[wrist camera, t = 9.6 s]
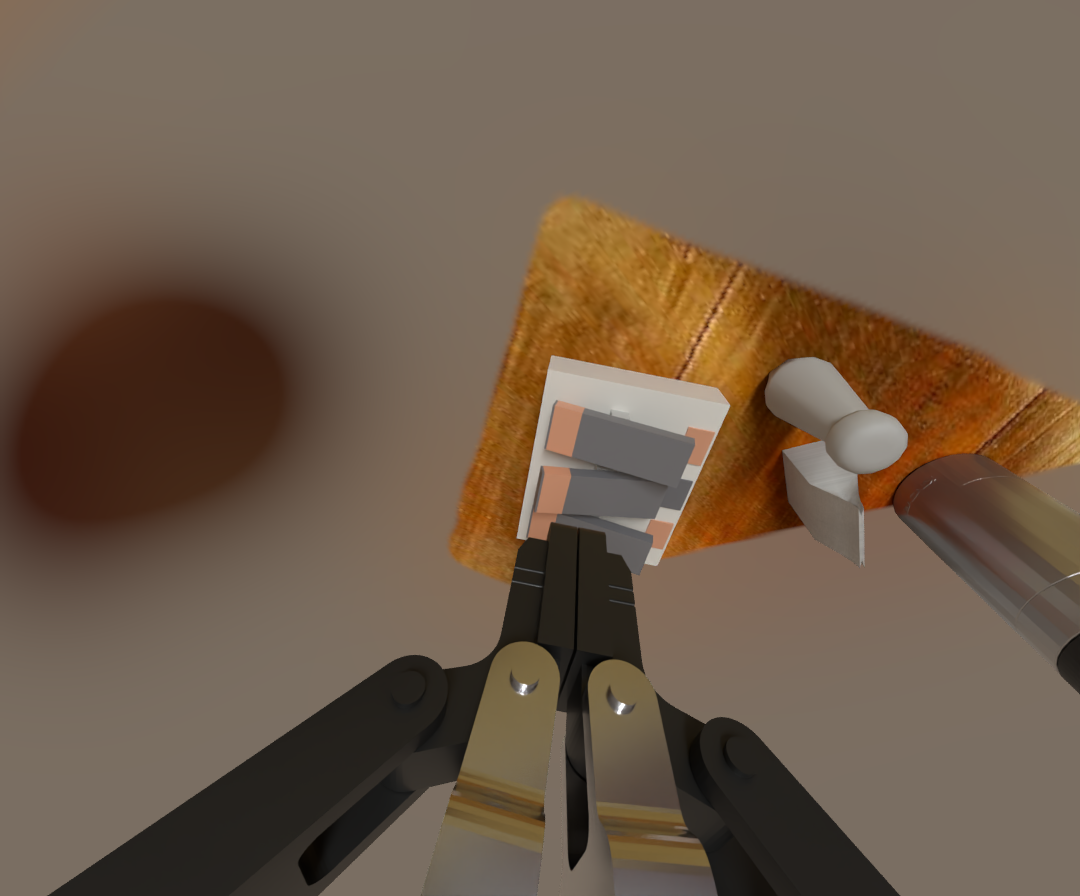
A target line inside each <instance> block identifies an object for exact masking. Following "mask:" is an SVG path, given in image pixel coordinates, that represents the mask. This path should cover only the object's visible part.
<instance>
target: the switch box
mask: <svg viewBox="0 0 1080 896" xmlns="http://www.w3.org/2000/svg"><path fill="white" fill-rule="evenodd" d="M556 400H558V401H563V402H566V403H570V404H573V405H577V406H581V407H584V408H587V409H591V410H594V411H598V412H601V413H605V414H609V415H612V416H616V417H619V418H623V419H627V420H630V421H634V422H637V423H641V424H645V425H648V426H652V427H655V428H659V429H662V430H666V431H670V432H673V433H677V434H680V435H684V436H688V437H691V438H695V447H694V449H693V451H692V454H691V456H690V458H689V461H688V463H687V465H686V468H685V470H684V472H683V475H682V477H681V479H680V482H679V484H678V486H677V488H673V487H670V486H668V489H667V491H666V494H665V496H664V499H663V501H662V503H661V506H660V508H659V511H658V513H657V515H656V518H655V519H645V518H627V517H610V516H594V517H597V518H600V519H603V520H606V521H609V522H613V523H616V524H619V525H622V526H625V527H628V528H632V529H635V530H638V531H641V532H644V533H647V534H651V535H653V544H652V547H651V549H650V551H649V554H648V556H647V558H646V561H645V563H644V564H649V565H654V566H657V565H658V563H659V561H660V559H661V557H662V554H663V552H664V550H665V548H666V546H667V543H668V541H669V539H670V537H671V535H672V532H673V530H674V528H675V526H676V524H677V521H678V519H679V517H680V515H681V513H682V510H683V508H684V506H685V504H686V502H687V500H688V497H689V495H690V493H691V491H692V489H693V486H694V484H695V482H696V480H697V478H698V475H699V473H700V471H701V469H702V467H703V464H704V462H705V460H706V458H707V456H708V453H709V451H710V449H711V447H712V445H713V442H714V440H715V438H716V436H717V434H718V431H719V429H720V427H721V425H722V423H723V420H724V418H725V416H726V414H727V412H728V409H729V407H730V404H729V403H728V402H727V400H726V399H725V398H724V396H723V395H722V393H721V392H720V391H719V389H718V388H715V387H710V386H705V385H700V384H695V383H690V382H684V381H679V380H674V379H669V378H664V377H659V376H654V375H649V374H644V373H639V372H634V371H629V370H624V369H619V368H613V367H608V366H603V365H598V364H593V363H588V362H583V361H578V360H573V359H568V358H563V357H558V356H553V355H552V356H551V360H550V364H549V368H548V373H547V378H546V383H545V389H544V394H543V400H542V405H541V410H540V416H539V421H538V426H537V432H536V437H535V442H534V448H533V453H532V458H531V464H530V469H529V474H528V480H527V485H526V490H525V496H524V501H523V507H522V512H521V517H520V523H519V528H518V533H517V538H518V539H523V540H527V539H528V538H526V535H527V530H528V525H529V520H530V515H531V510H532V505H533V502H534V497H535V492H536V487H537V482H538V477H539V472H540V467H541V466H553V467H566V468H576V469H589V470H601V471H614V472H620V471H617V470H614V469H610V468H607V467H604V466H600V465H597V464H594V463H590V462H587V461H584V460H580V459H577V458H574V457H570V456H566V455H563V454H560V453H556V452H553V451H550V450H546V449H544V446H545V441H546V437H547V432H548V427H549V422H550V417H551V412H552V407H553V404H554V403H555V401H556ZM591 516H593V515H591Z"/></svg>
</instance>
